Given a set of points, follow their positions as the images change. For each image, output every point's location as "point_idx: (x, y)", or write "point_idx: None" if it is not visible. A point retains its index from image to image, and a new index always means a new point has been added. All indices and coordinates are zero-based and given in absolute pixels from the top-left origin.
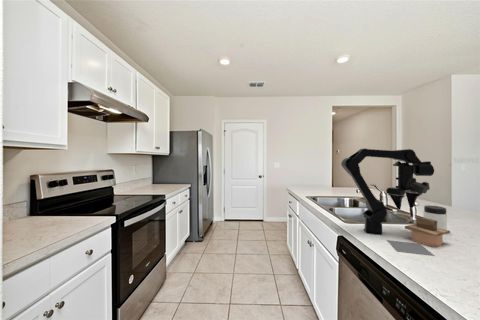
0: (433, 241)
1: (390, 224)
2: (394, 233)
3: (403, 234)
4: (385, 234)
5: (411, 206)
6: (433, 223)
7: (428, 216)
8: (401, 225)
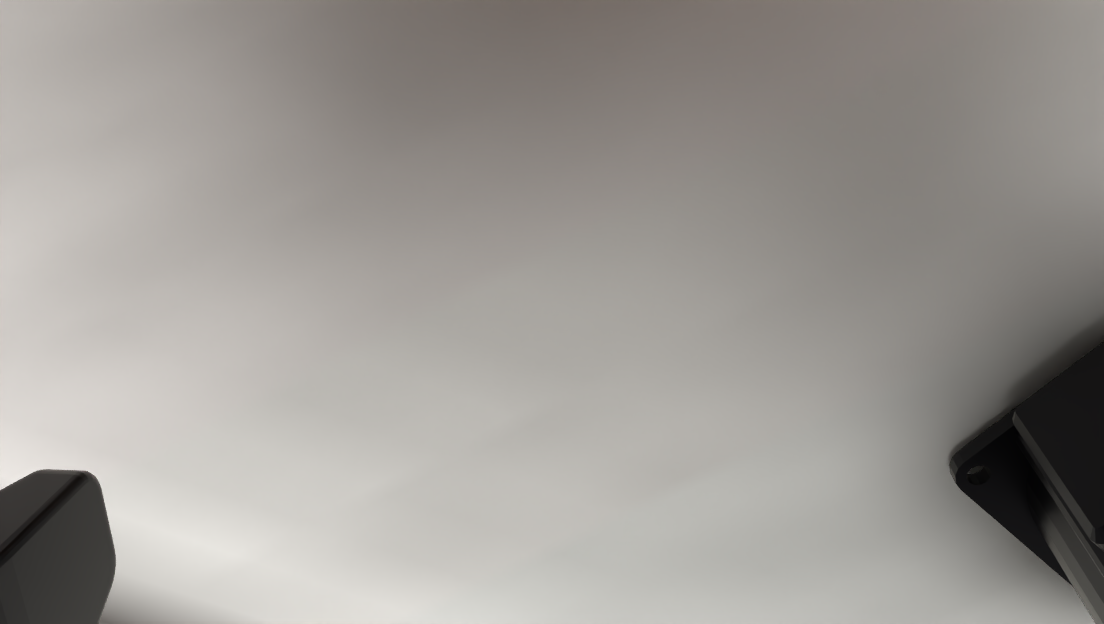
0: None
1: (218, 593)
2: (771, 238)
3: (649, 112)
4: (1034, 280)
5: (76, 542)
6: None
7: None
8: None
